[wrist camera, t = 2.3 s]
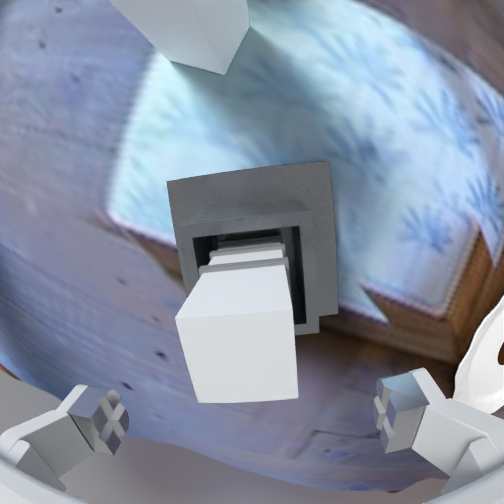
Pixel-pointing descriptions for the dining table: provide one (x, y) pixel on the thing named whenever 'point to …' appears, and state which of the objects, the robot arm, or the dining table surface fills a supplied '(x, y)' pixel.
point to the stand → (264, 227)
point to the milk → (191, 29)
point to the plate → (483, 365)
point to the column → (241, 322)
